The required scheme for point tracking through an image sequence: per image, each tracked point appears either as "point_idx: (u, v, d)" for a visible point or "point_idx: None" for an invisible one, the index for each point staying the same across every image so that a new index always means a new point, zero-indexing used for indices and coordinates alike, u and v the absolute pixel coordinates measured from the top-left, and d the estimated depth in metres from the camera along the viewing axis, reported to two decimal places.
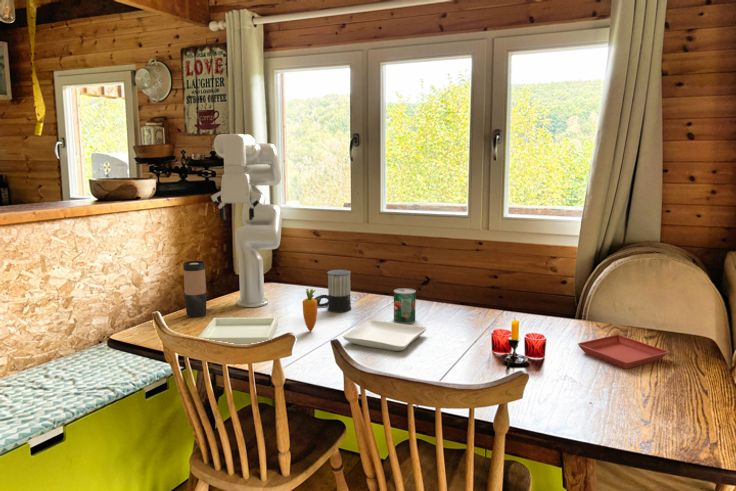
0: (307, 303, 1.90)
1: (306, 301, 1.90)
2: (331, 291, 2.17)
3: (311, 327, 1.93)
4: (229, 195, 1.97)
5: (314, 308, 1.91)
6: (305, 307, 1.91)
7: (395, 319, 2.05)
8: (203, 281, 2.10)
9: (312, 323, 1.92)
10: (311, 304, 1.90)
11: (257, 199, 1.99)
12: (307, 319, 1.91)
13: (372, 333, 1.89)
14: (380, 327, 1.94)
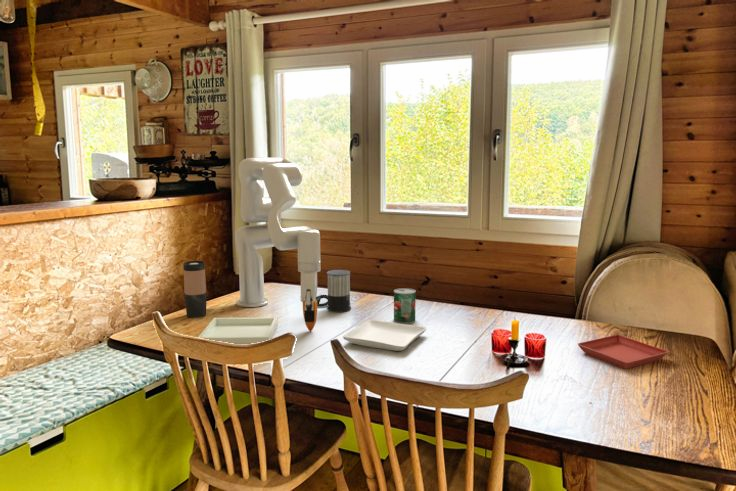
0: None
1: None
2: (330, 291, 2.17)
3: (311, 327, 1.93)
4: (316, 292, 1.90)
5: (314, 308, 1.91)
6: None
7: (395, 319, 2.05)
8: (203, 281, 2.10)
9: (312, 323, 1.92)
10: None
11: None
12: None
13: (372, 333, 1.89)
14: (380, 327, 1.94)
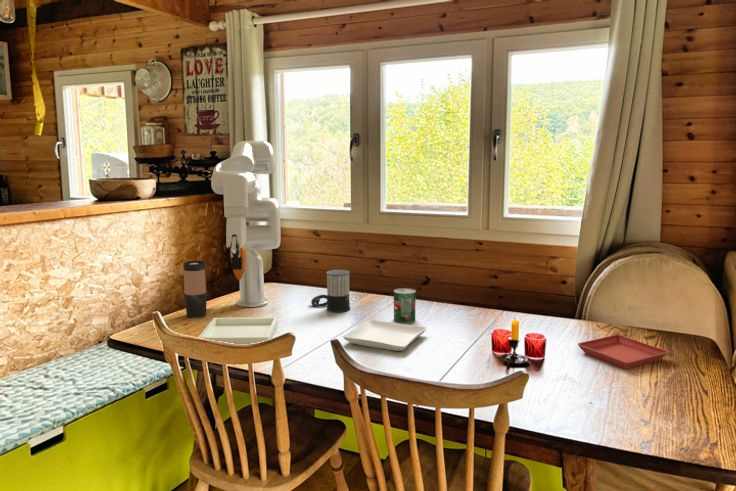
0: None
1: None
2: (330, 291, 2.17)
3: (239, 275, 1.85)
4: (243, 239, 1.82)
5: (242, 255, 1.84)
6: None
7: (395, 319, 2.05)
8: (203, 281, 2.10)
9: (240, 271, 1.85)
10: None
11: None
12: None
13: (372, 333, 1.89)
14: (380, 327, 1.94)
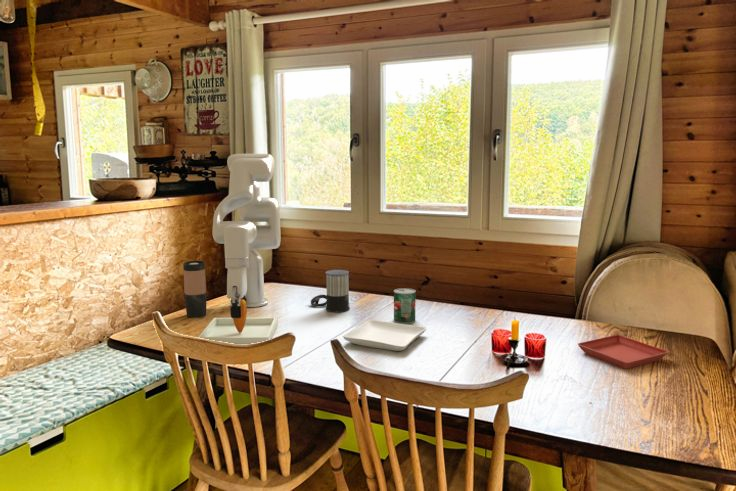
0: None
1: None
2: (329, 291, 2.17)
3: (240, 328, 1.88)
4: (244, 289, 1.85)
5: (243, 309, 1.87)
6: None
7: (395, 319, 2.05)
8: (203, 281, 2.10)
9: (241, 324, 1.88)
10: None
11: None
12: (236, 320, 1.87)
13: (372, 333, 1.89)
14: (380, 327, 1.94)
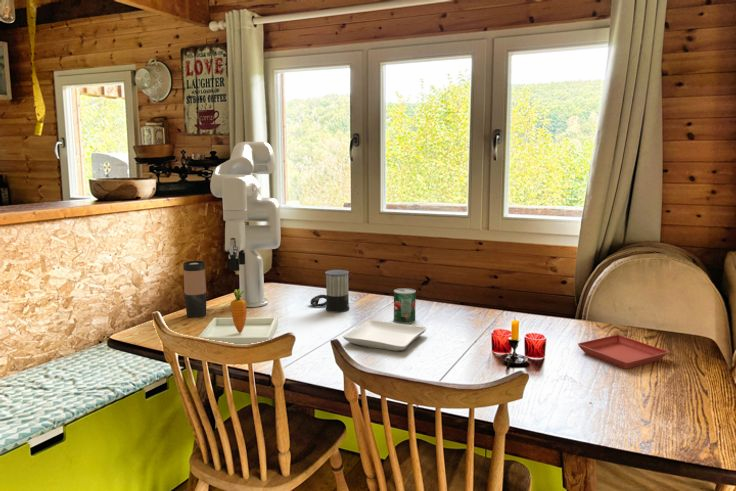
0: (235, 304, 1.86)
1: (234, 302, 1.86)
2: (329, 291, 2.17)
3: (240, 328, 1.88)
4: (242, 242, 1.83)
5: (242, 309, 1.87)
6: (233, 308, 1.86)
7: (395, 319, 2.05)
8: (203, 281, 2.10)
9: (241, 324, 1.88)
10: (239, 304, 1.86)
11: None
12: (235, 320, 1.87)
13: (372, 333, 1.89)
14: (380, 327, 1.94)
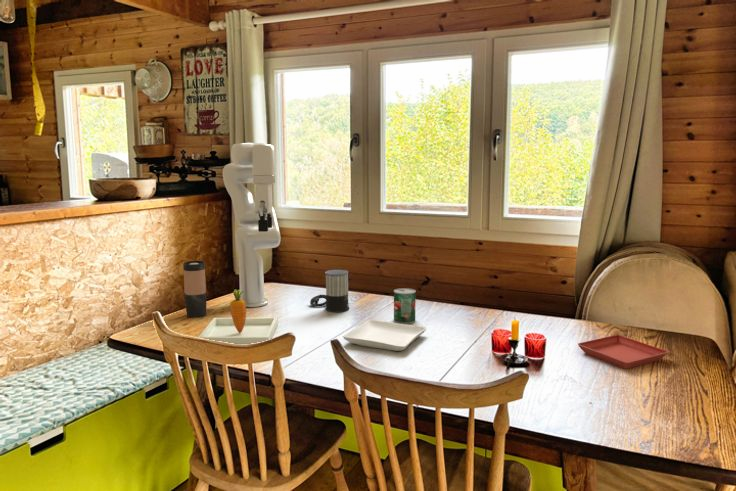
0: (234, 304, 1.86)
1: (233, 302, 1.86)
2: (328, 291, 2.17)
3: (240, 329, 1.88)
4: (270, 205, 1.97)
5: (242, 309, 1.86)
6: (232, 308, 1.86)
7: (395, 319, 2.05)
8: (203, 281, 2.10)
9: (241, 324, 1.88)
10: (239, 305, 1.86)
11: None
12: (235, 321, 1.87)
13: (372, 333, 1.89)
14: (380, 327, 1.94)
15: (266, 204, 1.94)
